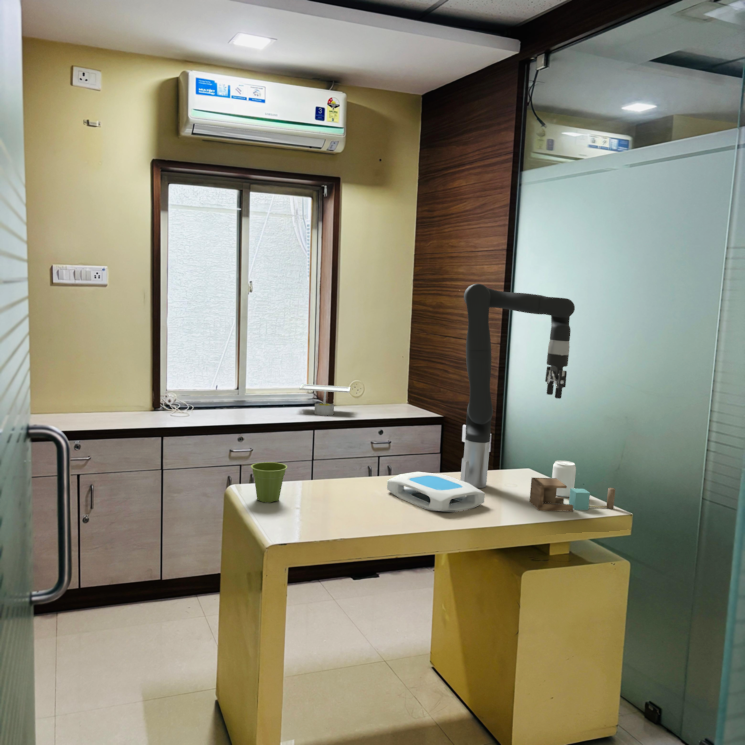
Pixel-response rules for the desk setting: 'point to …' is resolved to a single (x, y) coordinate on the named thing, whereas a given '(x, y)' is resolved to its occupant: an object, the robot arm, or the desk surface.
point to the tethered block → (581, 499)
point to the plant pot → (268, 480)
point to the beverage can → (564, 476)
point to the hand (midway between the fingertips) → (553, 396)
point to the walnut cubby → (547, 495)
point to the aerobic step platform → (436, 491)
